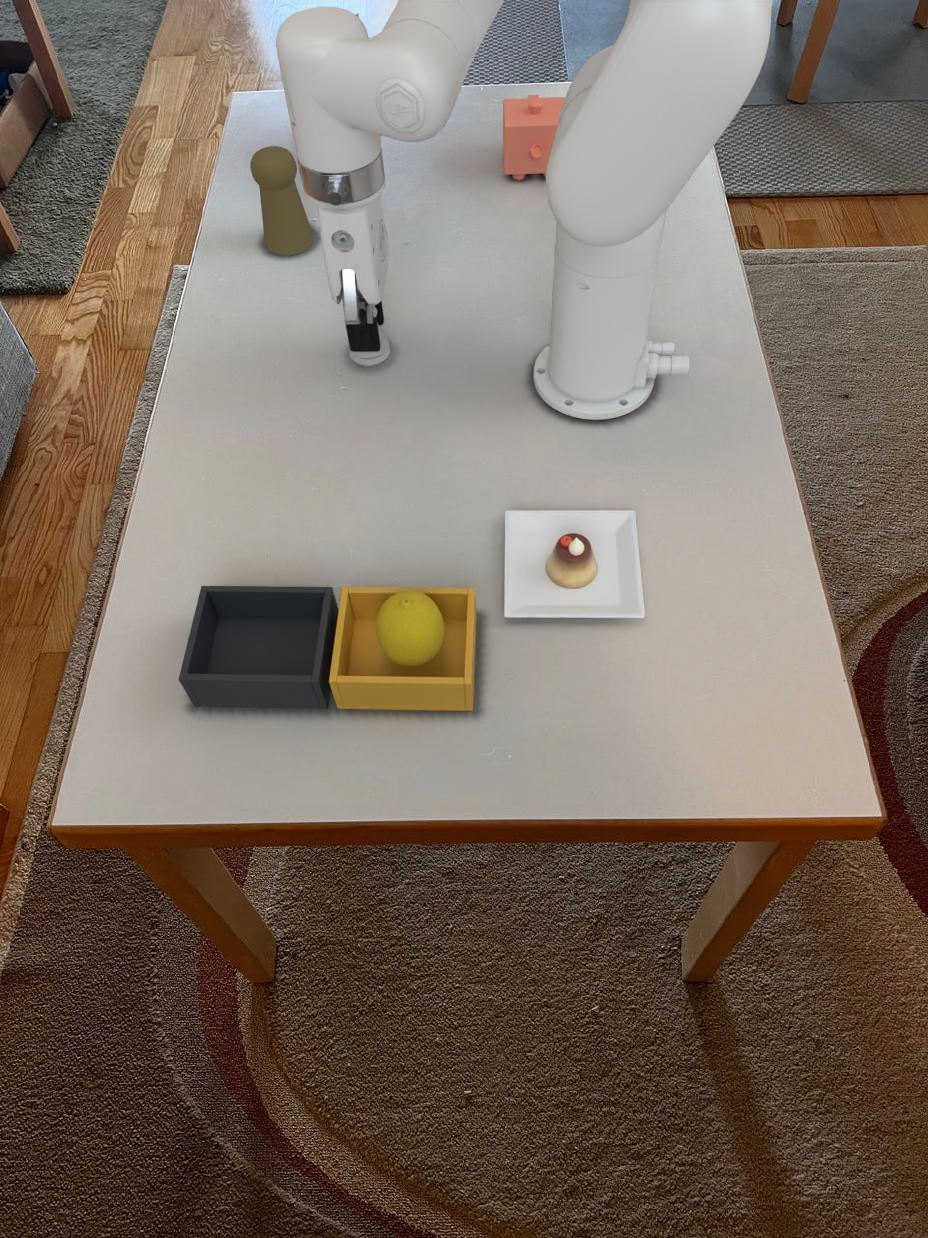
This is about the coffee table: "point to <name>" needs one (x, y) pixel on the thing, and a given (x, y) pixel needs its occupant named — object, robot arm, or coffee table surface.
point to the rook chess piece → (372, 357)
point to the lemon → (410, 628)
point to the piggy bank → (529, 133)
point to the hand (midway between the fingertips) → (367, 335)
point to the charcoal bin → (261, 647)
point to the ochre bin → (389, 686)
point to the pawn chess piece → (281, 202)
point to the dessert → (572, 564)
